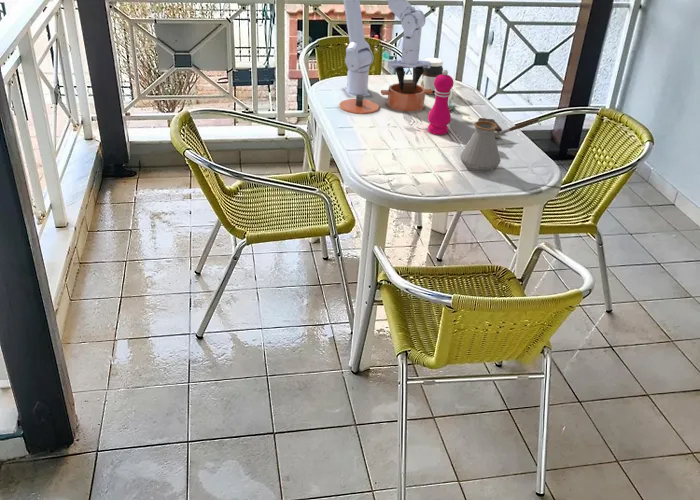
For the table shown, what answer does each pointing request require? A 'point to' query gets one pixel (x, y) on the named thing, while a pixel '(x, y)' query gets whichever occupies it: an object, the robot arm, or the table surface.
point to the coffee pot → (485, 146)
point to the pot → (406, 98)
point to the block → (408, 87)
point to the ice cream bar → (494, 123)
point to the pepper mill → (441, 105)
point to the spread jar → (431, 73)
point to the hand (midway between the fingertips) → (407, 88)
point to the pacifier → (451, 101)
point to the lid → (359, 105)
